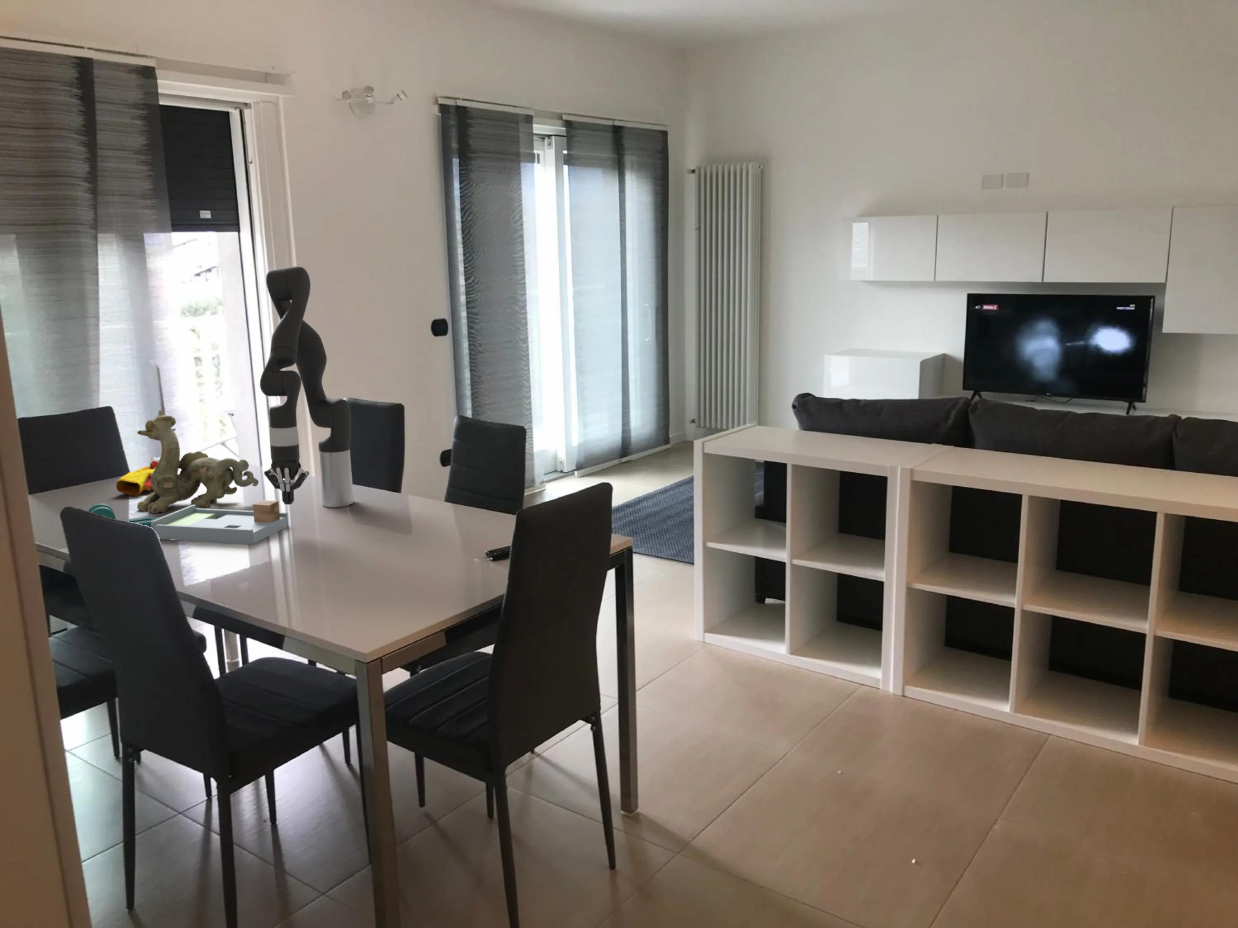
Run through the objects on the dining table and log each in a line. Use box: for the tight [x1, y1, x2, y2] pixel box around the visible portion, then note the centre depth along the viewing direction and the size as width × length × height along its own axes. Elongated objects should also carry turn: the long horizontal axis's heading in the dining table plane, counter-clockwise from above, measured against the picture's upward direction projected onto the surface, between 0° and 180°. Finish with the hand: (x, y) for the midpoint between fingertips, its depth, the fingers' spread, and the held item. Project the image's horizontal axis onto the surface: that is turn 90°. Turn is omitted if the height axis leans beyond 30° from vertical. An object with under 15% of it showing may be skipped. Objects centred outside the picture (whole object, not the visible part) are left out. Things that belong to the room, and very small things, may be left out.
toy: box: [115, 455, 161, 497], centre depth 334 cm, size 9×13×30 cm
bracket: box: [87, 502, 159, 527], centre depth 281 cm, size 18×7×8 cm, turn 121°
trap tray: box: [151, 504, 289, 546], centre depth 277 cm, size 19×30×5 cm, turn 79°
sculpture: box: [136, 409, 260, 514], centre depth 307 cm, size 29×27×30 cm
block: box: [252, 499, 280, 523], centre depth 279 cm, size 5×5×5 cm
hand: (288, 503), depth 277 cm, fingers closed
